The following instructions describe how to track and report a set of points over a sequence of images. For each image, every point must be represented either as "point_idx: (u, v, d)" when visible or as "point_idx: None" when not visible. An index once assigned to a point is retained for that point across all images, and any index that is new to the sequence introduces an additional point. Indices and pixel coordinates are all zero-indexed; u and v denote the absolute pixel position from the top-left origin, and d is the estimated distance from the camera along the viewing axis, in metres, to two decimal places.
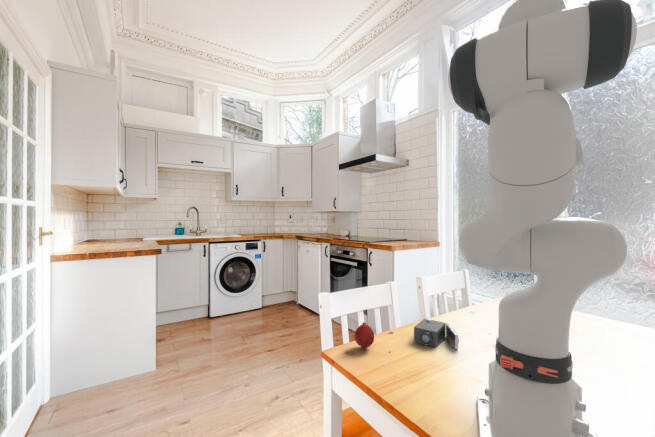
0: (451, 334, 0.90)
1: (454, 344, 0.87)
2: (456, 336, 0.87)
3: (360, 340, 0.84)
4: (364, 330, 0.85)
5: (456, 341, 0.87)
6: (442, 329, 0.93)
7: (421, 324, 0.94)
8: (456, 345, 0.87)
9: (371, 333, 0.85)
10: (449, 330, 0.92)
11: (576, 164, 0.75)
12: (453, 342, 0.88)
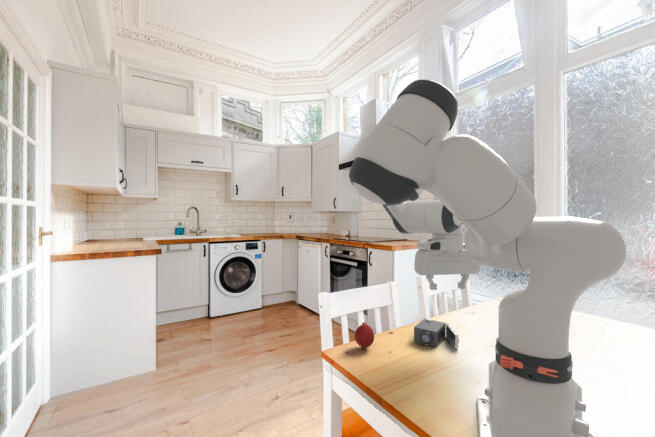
0: (451, 334, 0.90)
1: (454, 344, 0.87)
2: (456, 336, 0.87)
3: (360, 340, 0.84)
4: (364, 330, 0.85)
5: (456, 341, 0.87)
6: (442, 329, 0.93)
7: (421, 324, 0.94)
8: (456, 345, 0.87)
9: (371, 333, 0.85)
10: (449, 330, 0.92)
11: None
12: (453, 342, 0.88)
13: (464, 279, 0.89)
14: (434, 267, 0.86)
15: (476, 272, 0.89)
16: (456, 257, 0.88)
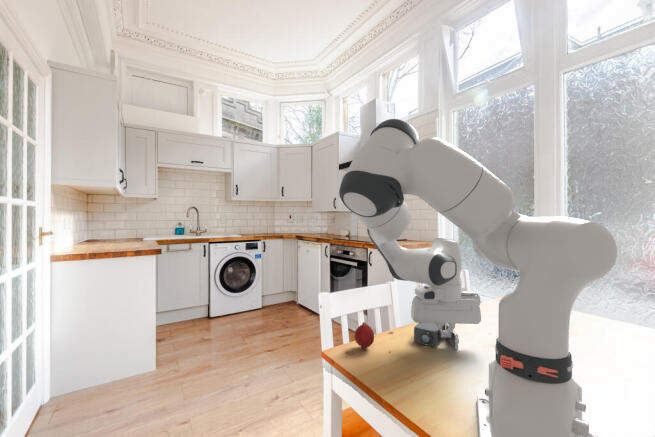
0: (451, 334, 0.90)
1: (454, 344, 0.87)
2: (456, 336, 0.87)
3: (360, 340, 0.84)
4: (364, 330, 0.85)
5: (456, 341, 0.87)
6: (442, 329, 0.93)
7: (421, 324, 0.94)
8: (456, 345, 0.87)
9: (371, 333, 0.85)
10: None
11: None
12: (453, 342, 0.88)
13: (450, 328, 0.88)
14: (429, 315, 0.87)
15: (476, 322, 0.87)
16: (454, 306, 0.87)
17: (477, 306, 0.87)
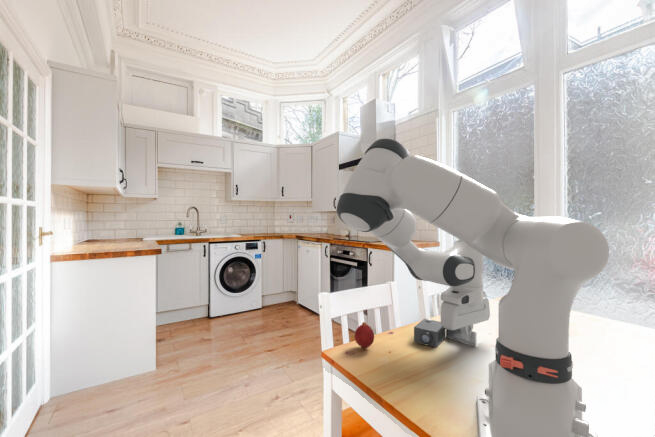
0: None
1: (472, 342, 0.89)
2: (475, 334, 0.88)
3: (360, 340, 0.84)
4: (364, 330, 0.85)
5: (475, 339, 0.88)
6: (442, 329, 0.93)
7: (421, 324, 0.94)
8: (475, 343, 0.88)
9: (371, 333, 0.85)
10: (457, 330, 0.93)
11: None
12: (469, 341, 0.89)
13: (469, 329, 0.89)
14: (461, 320, 0.85)
15: (487, 319, 0.92)
16: (475, 307, 0.89)
17: (488, 303, 0.93)
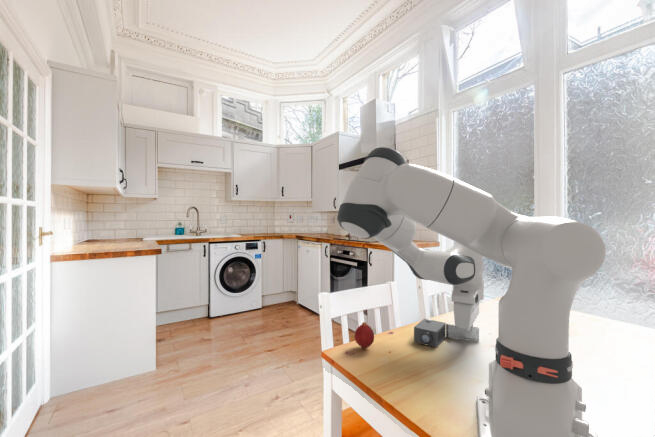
0: None
1: (476, 337, 0.93)
2: (478, 329, 0.93)
3: (360, 340, 0.84)
4: (364, 330, 0.85)
5: (478, 333, 0.93)
6: (442, 329, 0.93)
7: (421, 324, 0.94)
8: (478, 337, 0.93)
9: (371, 333, 0.85)
10: None
11: None
12: (473, 336, 0.93)
13: (470, 326, 0.92)
14: (471, 319, 0.86)
15: (478, 313, 0.98)
16: None
17: None
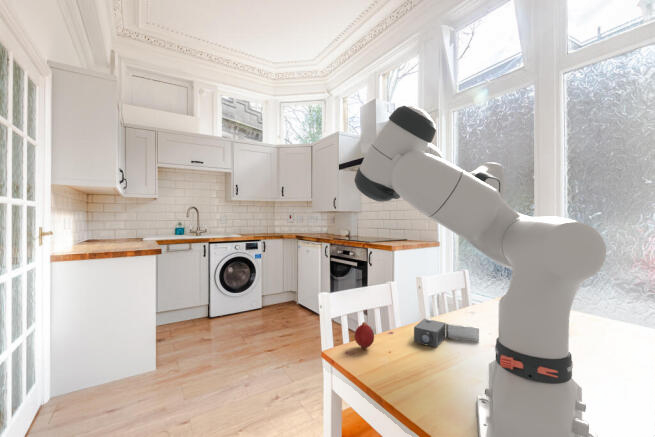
0: (466, 331, 0.94)
1: (476, 337, 0.93)
2: (478, 329, 0.93)
3: (360, 340, 0.84)
4: (364, 330, 0.85)
5: (478, 333, 0.93)
6: (442, 329, 0.93)
7: (421, 324, 0.94)
8: (478, 337, 0.93)
9: (371, 333, 0.85)
10: (459, 328, 0.94)
11: None
12: (473, 336, 0.93)
13: None
14: None
15: None
16: None
17: None
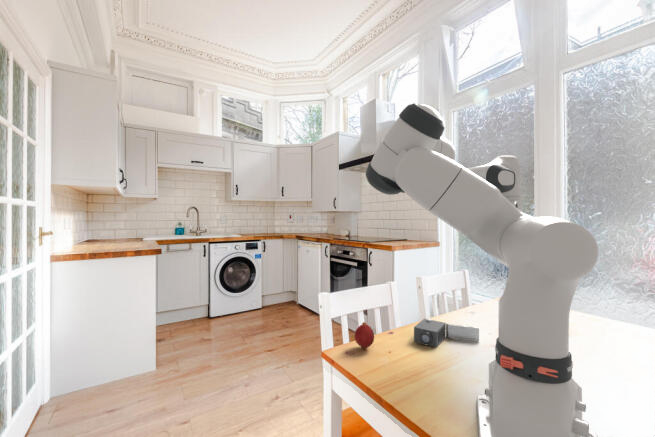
0: (466, 331, 0.94)
1: (476, 337, 0.93)
2: (478, 329, 0.93)
3: (360, 340, 0.84)
4: (364, 330, 0.85)
5: (478, 333, 0.93)
6: (442, 329, 0.93)
7: (421, 324, 0.94)
8: (478, 337, 0.93)
9: (371, 333, 0.85)
10: (459, 328, 0.94)
11: None
12: (473, 336, 0.93)
13: None
14: None
15: None
16: None
17: None
